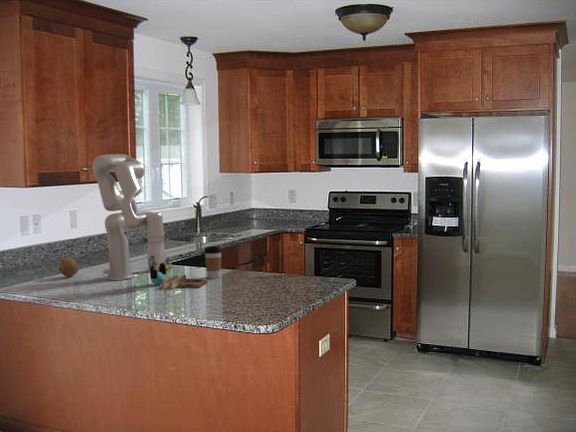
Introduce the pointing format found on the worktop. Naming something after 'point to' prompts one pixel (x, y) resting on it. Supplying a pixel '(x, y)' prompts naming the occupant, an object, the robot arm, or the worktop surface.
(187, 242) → the worktop surface
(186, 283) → the tray
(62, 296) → the worktop surface
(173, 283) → the rail
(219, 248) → the coffee cup
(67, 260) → the natural sponge
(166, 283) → the rail
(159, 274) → the ball
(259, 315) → the worktop surface
